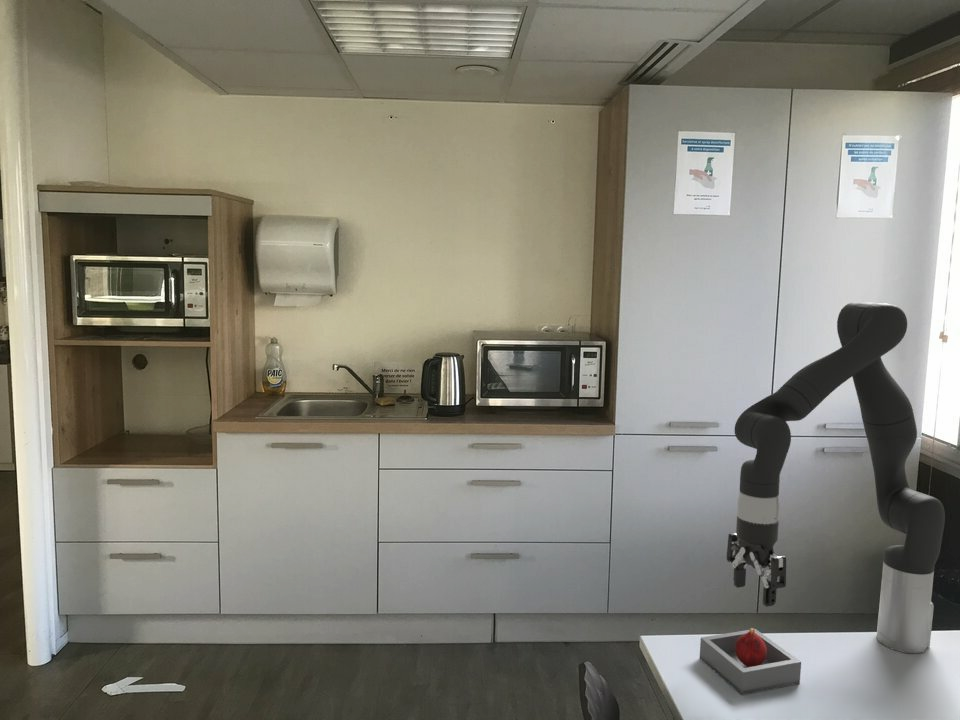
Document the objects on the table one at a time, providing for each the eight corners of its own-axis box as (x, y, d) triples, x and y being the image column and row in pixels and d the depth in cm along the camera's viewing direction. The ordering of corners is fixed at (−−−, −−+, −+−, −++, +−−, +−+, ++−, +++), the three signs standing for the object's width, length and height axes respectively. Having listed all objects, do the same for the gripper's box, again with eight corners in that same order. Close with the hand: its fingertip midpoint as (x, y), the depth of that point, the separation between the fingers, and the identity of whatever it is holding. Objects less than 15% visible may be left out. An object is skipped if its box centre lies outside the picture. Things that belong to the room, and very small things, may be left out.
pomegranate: (769, 676, 138) (772, 637, 137) (739, 675, 138) (742, 636, 137) (759, 660, 144) (762, 622, 143) (730, 659, 144) (732, 621, 143)
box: (753, 649, 150) (755, 628, 149) (799, 683, 137) (801, 661, 137) (699, 658, 146) (700, 637, 145) (741, 695, 133) (743, 672, 133)
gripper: (800, 525, 132) (795, 609, 134) (749, 501, 145) (745, 578, 147) (766, 530, 129) (762, 615, 132) (718, 505, 143) (714, 582, 145)
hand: (753, 595), depth 139 cm, fingers open, 8 cm apart
